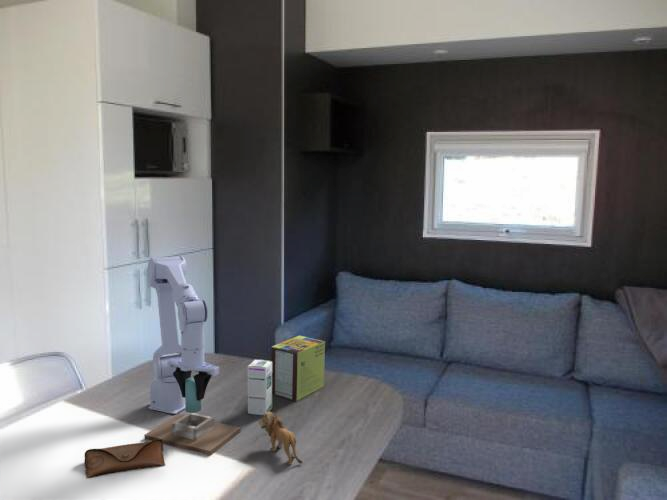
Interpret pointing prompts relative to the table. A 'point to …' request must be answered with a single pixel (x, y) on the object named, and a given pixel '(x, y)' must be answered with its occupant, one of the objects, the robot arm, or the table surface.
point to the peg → (191, 396)
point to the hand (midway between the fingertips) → (193, 397)
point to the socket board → (193, 433)
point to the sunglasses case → (123, 458)
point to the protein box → (297, 367)
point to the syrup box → (259, 387)
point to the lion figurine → (279, 435)
